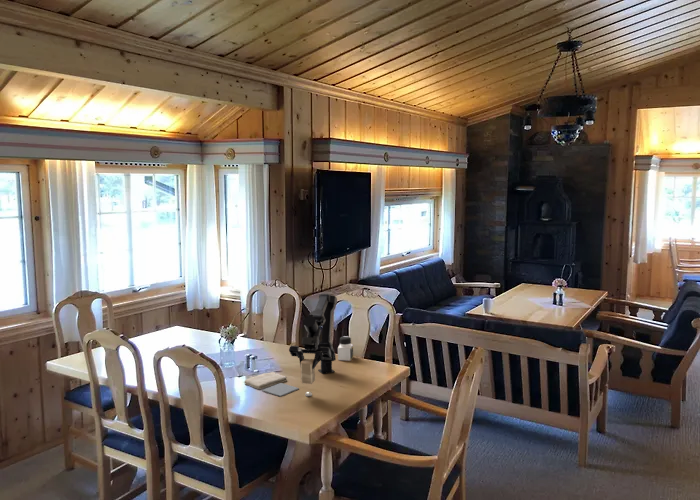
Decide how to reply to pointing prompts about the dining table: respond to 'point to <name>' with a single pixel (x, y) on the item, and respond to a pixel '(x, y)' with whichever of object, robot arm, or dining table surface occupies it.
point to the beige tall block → (307, 371)
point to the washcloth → (265, 380)
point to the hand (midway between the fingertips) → (306, 368)
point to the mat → (280, 389)
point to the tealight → (308, 394)
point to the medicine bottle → (345, 349)
